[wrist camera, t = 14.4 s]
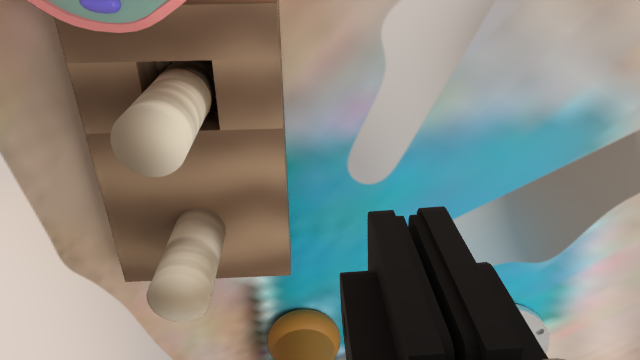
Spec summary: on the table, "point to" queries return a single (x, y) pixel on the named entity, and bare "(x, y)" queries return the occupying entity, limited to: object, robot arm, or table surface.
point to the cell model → (109, 13)
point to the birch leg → (164, 119)
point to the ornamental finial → (304, 336)
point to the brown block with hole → (193, 151)
